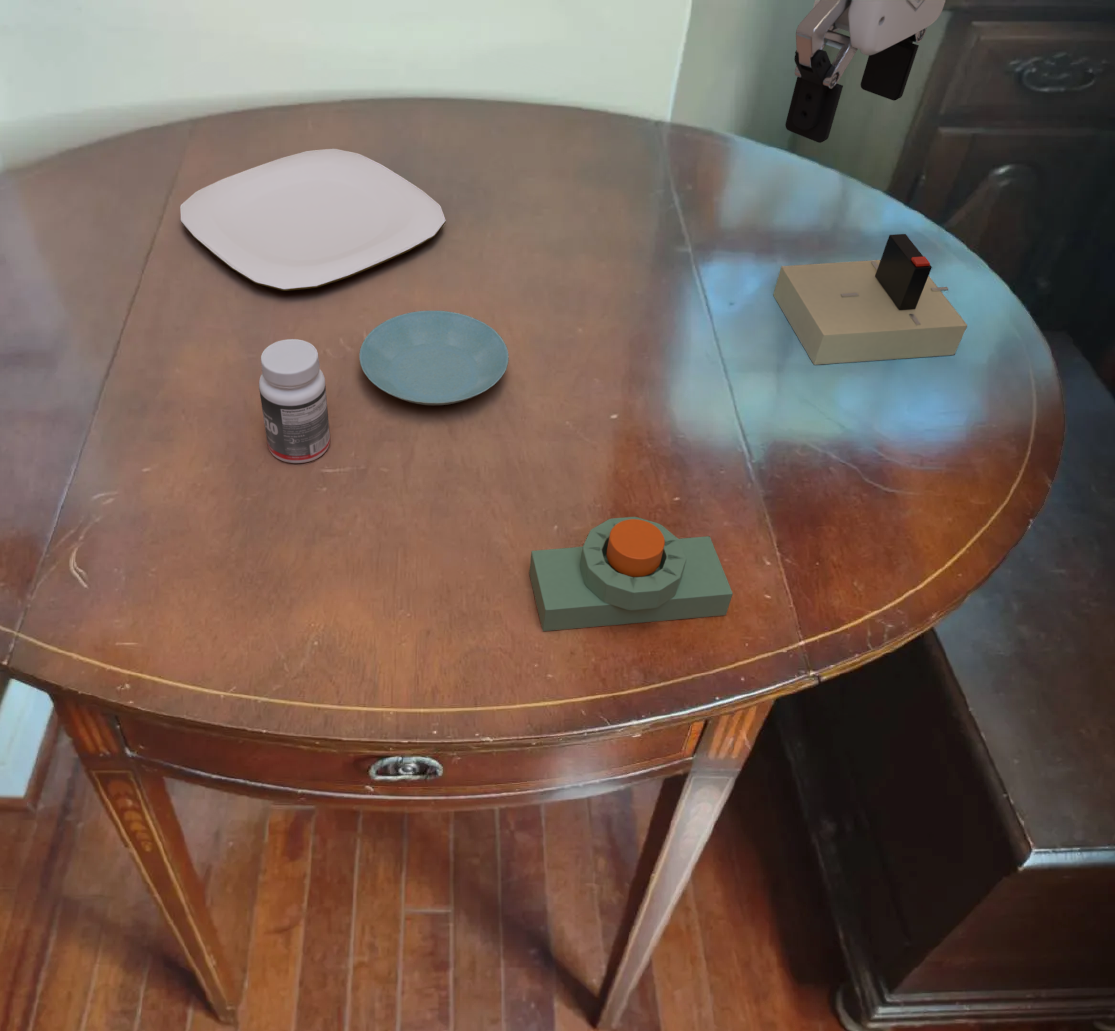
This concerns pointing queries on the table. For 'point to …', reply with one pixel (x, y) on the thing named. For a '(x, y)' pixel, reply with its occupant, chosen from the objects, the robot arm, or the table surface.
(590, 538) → the block
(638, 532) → the button
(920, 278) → the knob
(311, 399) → the pill bottle
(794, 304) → the panel
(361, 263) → the plate
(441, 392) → the saucer
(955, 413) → the table surface
